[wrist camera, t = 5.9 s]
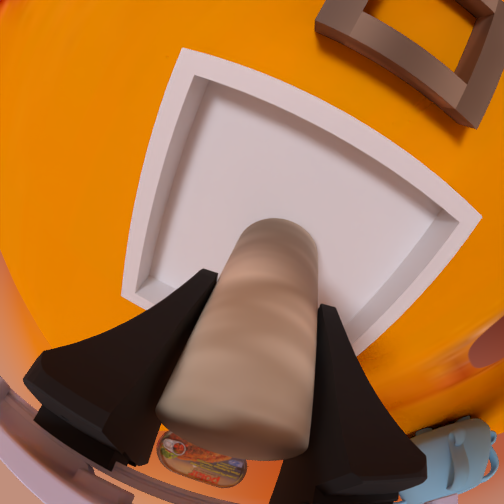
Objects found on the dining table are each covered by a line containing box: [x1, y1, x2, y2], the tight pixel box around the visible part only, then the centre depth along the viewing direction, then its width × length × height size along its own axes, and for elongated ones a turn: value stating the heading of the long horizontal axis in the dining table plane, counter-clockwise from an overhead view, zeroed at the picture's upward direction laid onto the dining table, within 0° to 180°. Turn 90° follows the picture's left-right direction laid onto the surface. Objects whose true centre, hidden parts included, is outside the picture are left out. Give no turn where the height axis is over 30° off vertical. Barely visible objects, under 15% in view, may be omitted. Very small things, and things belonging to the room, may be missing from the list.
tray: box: [121, 48, 482, 357], centre depth 14 cm, size 15×15×3 cm
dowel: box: [155, 218, 318, 461], centre depth 10 cm, size 4×4×9 cm
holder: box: [315, 0, 504, 129], centre depth 7 cm, size 8×8×2 cm
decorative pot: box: [393, 416, 499, 504], centre depth 21 cm, size 16×16×14 cm
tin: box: [157, 430, 247, 488], centre depth 33 cm, size 15×3×8 cm, turn 56°
